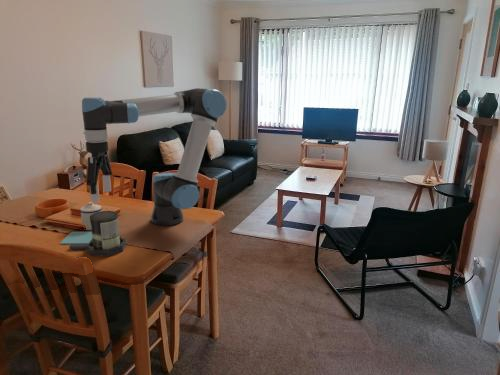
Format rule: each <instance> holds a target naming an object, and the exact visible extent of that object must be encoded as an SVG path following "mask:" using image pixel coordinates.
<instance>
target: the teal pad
mask: <svg viewBox="0 0 500 375" xmlns="http://www.w3.org/2000/svg"><path fill="white" fill-rule="evenodd" d="M91 240H92V232H91V231H71V232H69V234H68V235H66V237H65V238H63V239H62V240H61V242H59V245H71V244H88V243H89V242H90V241H91Z"/></svg>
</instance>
